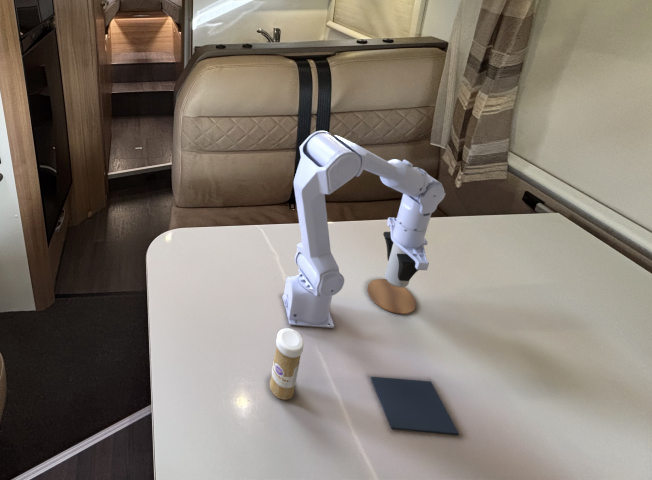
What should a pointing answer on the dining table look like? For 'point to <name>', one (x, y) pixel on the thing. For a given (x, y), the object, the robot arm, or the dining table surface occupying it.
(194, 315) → the dining table surface
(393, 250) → the beverage can
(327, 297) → the robot arm
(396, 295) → the cork coaster
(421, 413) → the slate pad
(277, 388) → the sprinkles bottle
